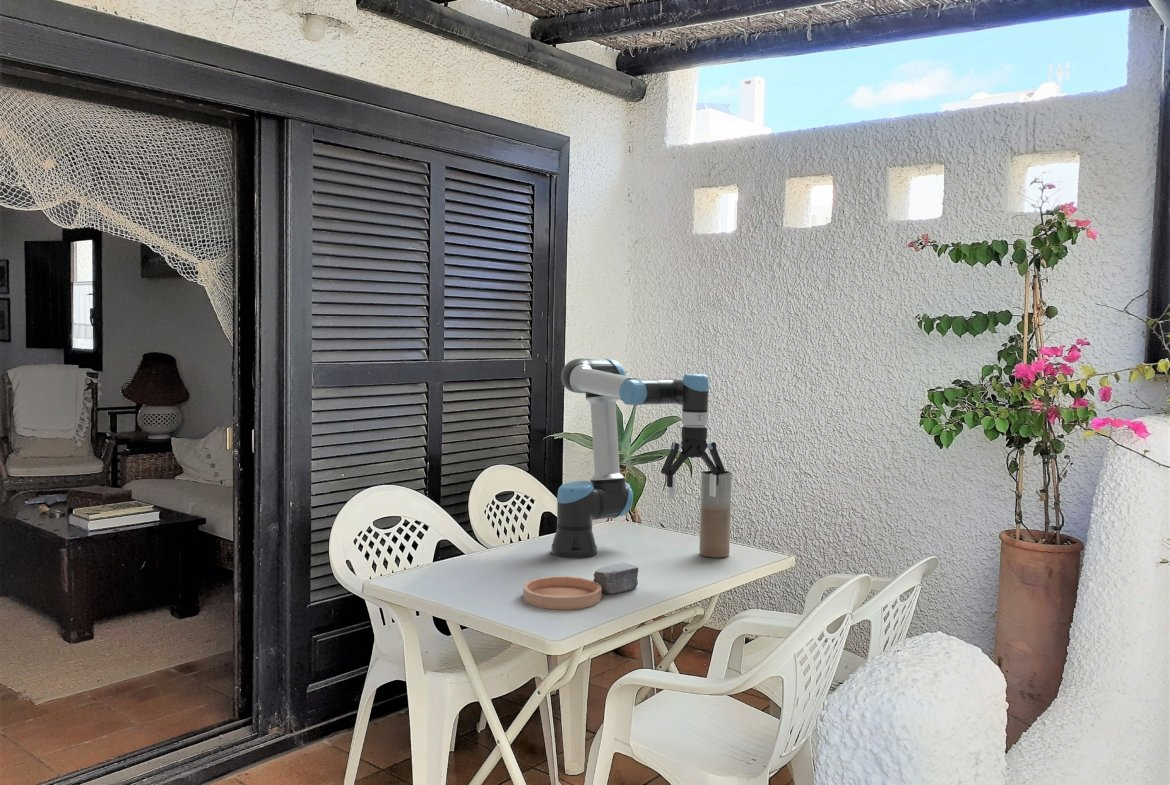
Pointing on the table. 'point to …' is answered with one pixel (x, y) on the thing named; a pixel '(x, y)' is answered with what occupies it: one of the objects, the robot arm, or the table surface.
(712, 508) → the vase
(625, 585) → the decorative stone
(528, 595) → the saucer
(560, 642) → the table surface
